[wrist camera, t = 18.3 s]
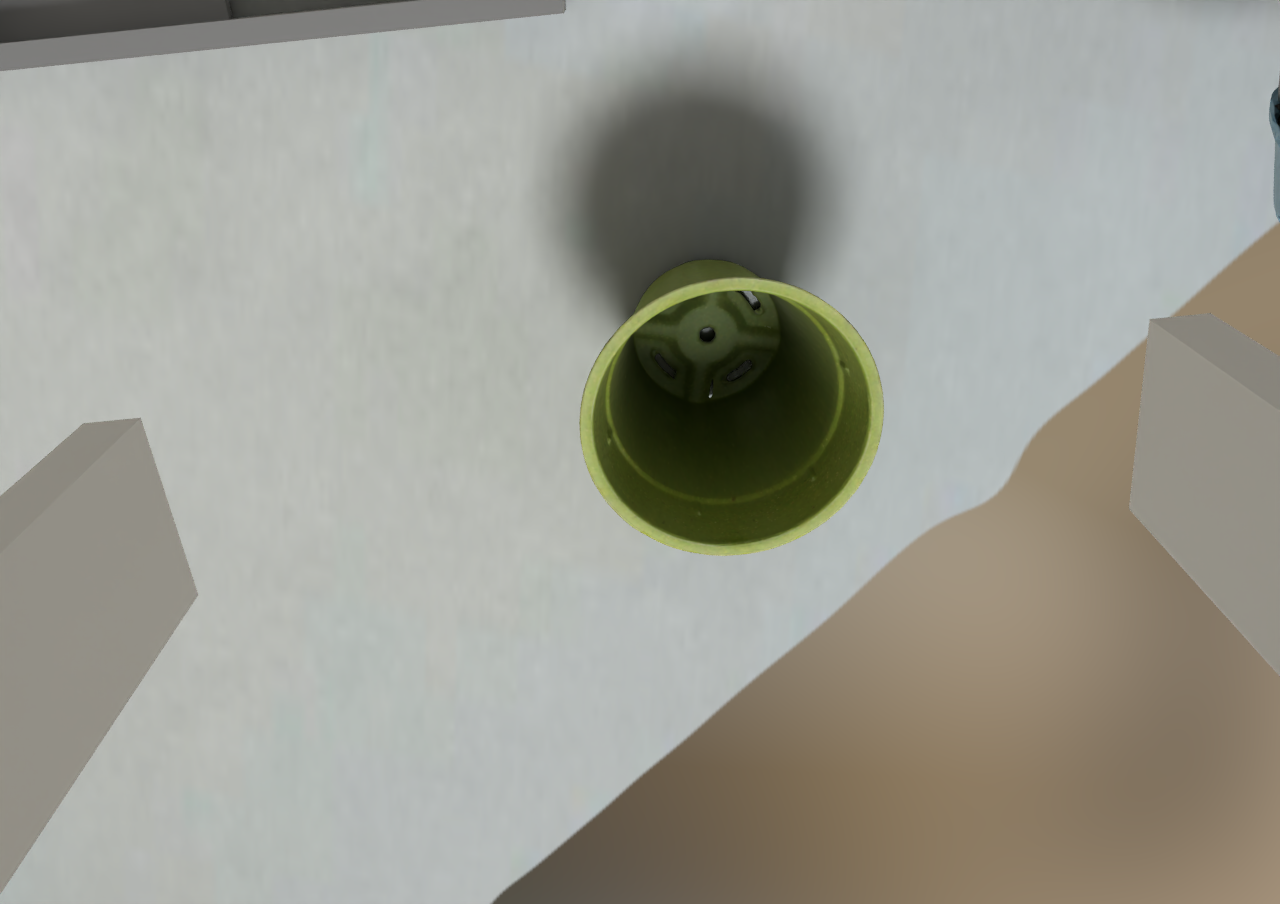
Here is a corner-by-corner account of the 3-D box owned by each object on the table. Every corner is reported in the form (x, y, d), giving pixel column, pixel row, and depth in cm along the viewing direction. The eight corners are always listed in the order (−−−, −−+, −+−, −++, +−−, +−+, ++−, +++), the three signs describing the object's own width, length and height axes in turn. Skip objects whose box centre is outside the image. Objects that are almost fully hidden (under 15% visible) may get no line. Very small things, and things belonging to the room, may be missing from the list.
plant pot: (548, 396, 53) (535, 502, 43) (641, 170, 48) (651, 227, 38) (764, 476, 55) (801, 595, 45) (872, 267, 50) (940, 346, 40)
